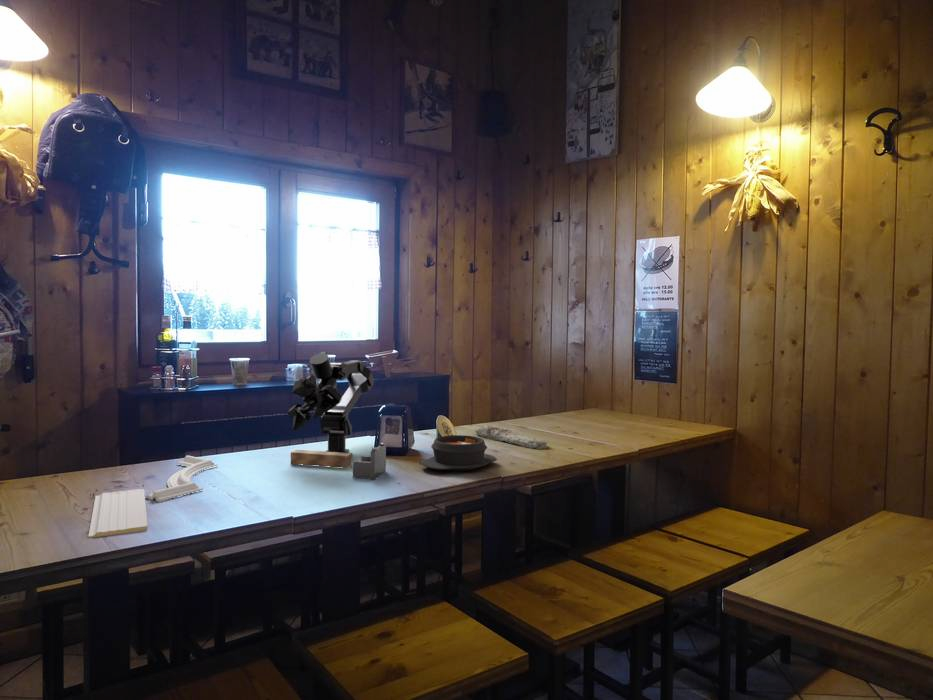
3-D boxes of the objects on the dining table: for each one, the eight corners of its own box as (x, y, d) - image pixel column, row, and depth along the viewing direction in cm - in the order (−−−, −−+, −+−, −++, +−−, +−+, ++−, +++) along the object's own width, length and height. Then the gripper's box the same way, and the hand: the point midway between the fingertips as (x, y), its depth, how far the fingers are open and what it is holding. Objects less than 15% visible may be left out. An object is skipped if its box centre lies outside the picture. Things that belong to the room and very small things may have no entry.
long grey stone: (533, 455, 214) (553, 453, 221) (535, 440, 214) (554, 438, 221) (467, 434, 241) (486, 432, 247) (468, 420, 240) (487, 419, 247)
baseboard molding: (79, 542, 124) (147, 533, 130) (79, 527, 124) (147, 519, 130) (88, 500, 151) (144, 494, 157) (88, 488, 151) (144, 483, 157)
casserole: (471, 456, 205) (472, 430, 204) (510, 467, 190) (510, 440, 190) (407, 466, 189) (407, 439, 189) (443, 479, 174) (444, 449, 174)
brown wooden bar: (290, 465, 189) (290, 452, 189) (296, 462, 193) (296, 449, 192) (346, 469, 185) (346, 456, 185) (351, 466, 189) (352, 453, 189)
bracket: (363, 470, 183) (363, 440, 183) (386, 471, 182) (386, 442, 182) (351, 478, 174) (351, 447, 173) (374, 480, 172) (375, 449, 172)
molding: (179, 464, 189) (178, 455, 189) (221, 462, 192) (221, 453, 192) (141, 505, 148) (141, 493, 148) (196, 502, 151) (196, 490, 151)
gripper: (285, 385, 196) (263, 418, 184) (324, 359, 187) (303, 392, 174) (311, 408, 200) (291, 442, 188) (350, 384, 191) (332, 418, 178)
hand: (303, 424), depth 182 cm, fingers open, 9 cm apart
